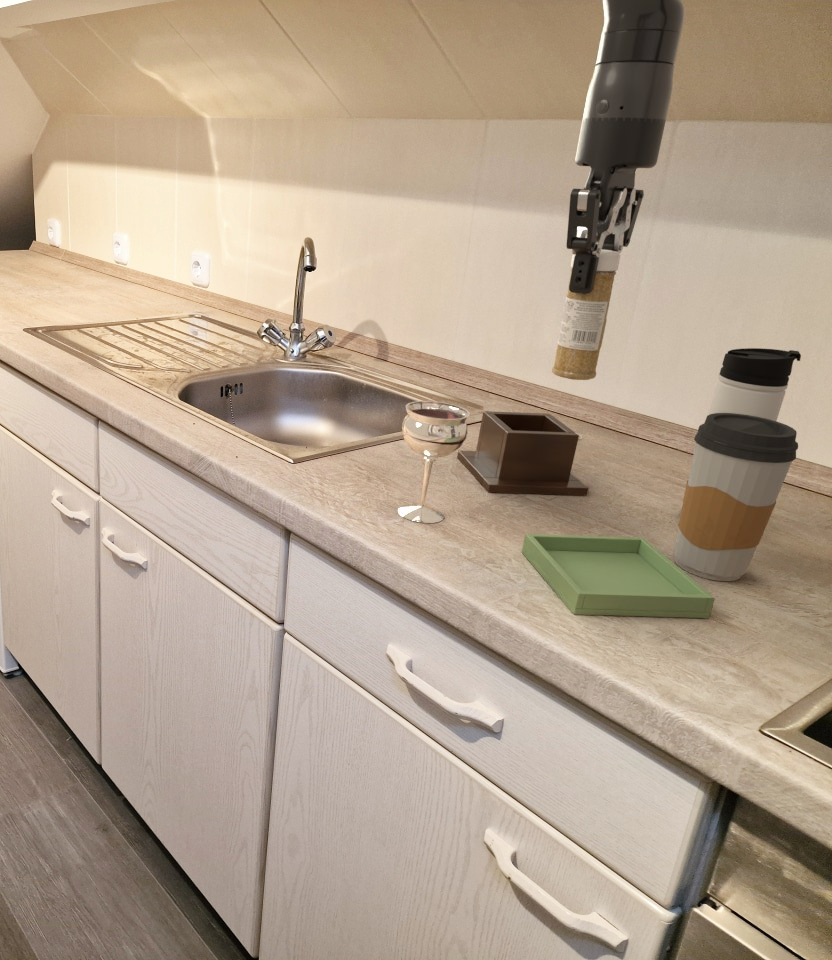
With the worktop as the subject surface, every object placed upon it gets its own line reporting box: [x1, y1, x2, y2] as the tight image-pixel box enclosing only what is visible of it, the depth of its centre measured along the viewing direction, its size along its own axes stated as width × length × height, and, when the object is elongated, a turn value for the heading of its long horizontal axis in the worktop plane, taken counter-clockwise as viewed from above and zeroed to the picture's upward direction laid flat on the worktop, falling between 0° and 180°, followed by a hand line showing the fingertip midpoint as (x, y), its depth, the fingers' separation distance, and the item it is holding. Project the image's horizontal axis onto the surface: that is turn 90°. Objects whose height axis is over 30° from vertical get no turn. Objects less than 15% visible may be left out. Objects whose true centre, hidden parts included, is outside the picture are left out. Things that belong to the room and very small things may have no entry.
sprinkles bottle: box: [551, 249, 621, 381], centre depth 91 cm, size 5×5×14 cm
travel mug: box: [678, 347, 802, 517], centre depth 92 cm, size 6×7×20 cm
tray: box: [521, 533, 716, 619], centre depth 81 cm, size 12×12×2 cm
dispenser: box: [456, 410, 589, 497], centre depth 106 cm, size 12×12×7 cm
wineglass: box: [397, 400, 471, 524], centre depth 92 cm, size 7×7×12 cm
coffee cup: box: [673, 413, 799, 582], centre depth 82 cm, size 8×8×15 cm
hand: (589, 290), depth 90 cm, fingers closed on sprinkles bottle, 4 cm apart
